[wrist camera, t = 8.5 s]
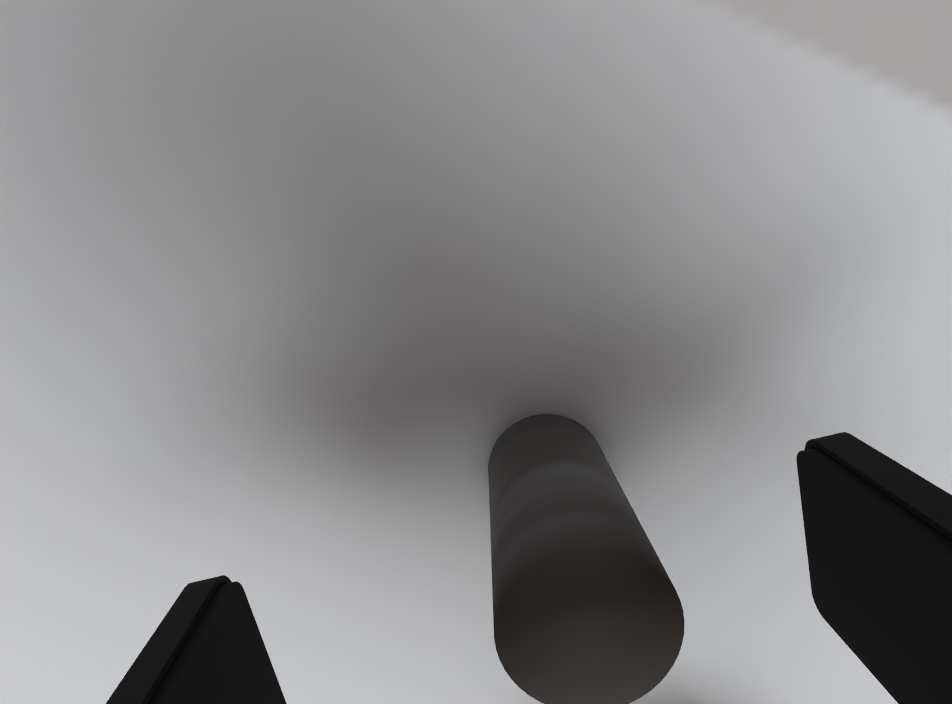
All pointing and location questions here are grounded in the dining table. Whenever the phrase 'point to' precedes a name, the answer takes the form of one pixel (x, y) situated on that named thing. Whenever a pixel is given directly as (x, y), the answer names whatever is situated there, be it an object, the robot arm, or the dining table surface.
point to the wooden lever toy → (574, 572)
